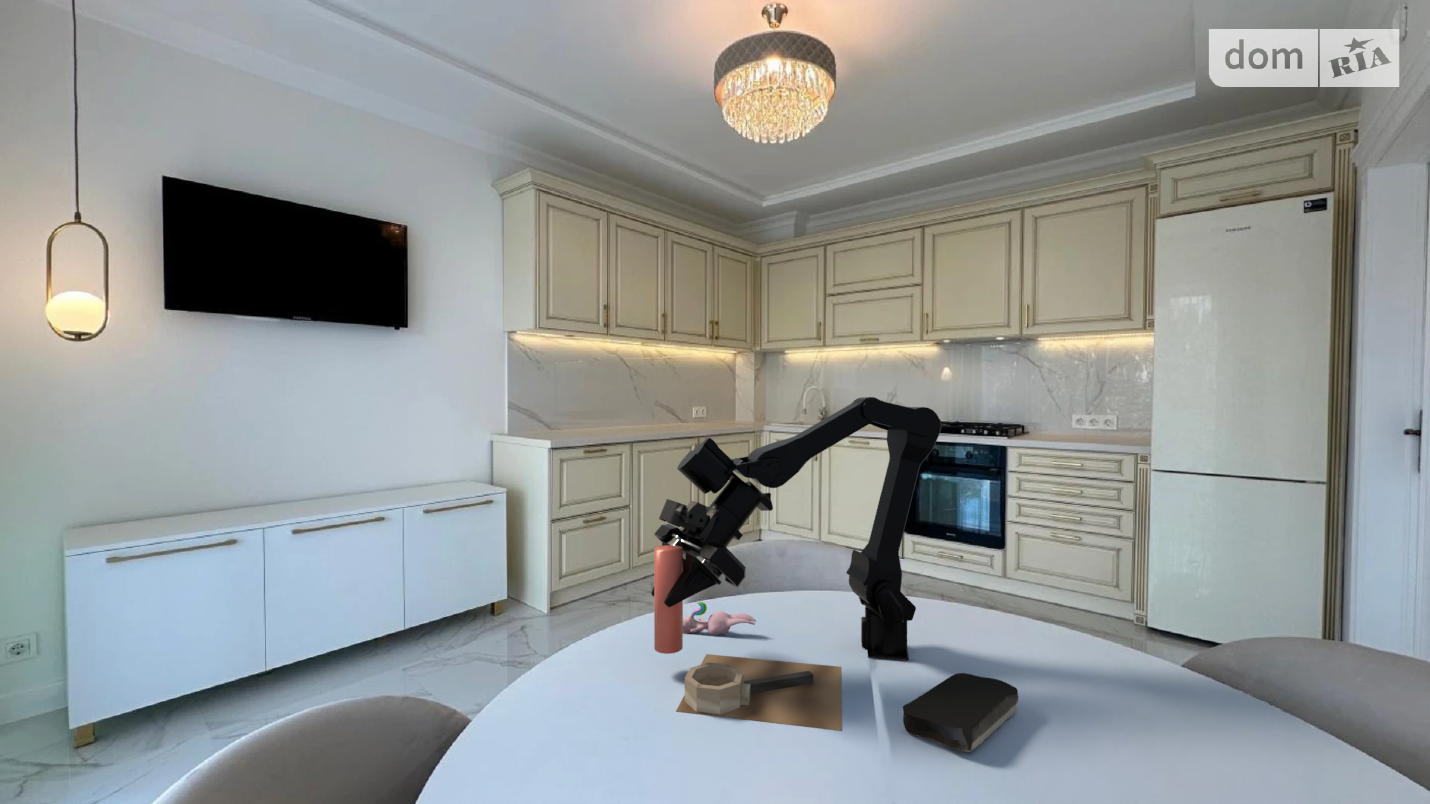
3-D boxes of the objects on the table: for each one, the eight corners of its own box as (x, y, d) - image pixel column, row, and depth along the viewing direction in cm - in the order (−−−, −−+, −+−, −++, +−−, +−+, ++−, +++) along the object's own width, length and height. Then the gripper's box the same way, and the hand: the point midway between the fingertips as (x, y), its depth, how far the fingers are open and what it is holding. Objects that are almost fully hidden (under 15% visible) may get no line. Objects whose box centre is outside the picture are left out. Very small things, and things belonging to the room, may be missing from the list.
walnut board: (841, 675, 84) (841, 645, 84) (841, 740, 67) (841, 704, 67) (706, 662, 88) (706, 634, 88) (675, 721, 71) (675, 686, 71)
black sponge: (966, 767, 63) (966, 733, 63) (895, 734, 69) (896, 703, 69) (1023, 715, 74) (1023, 686, 74) (958, 690, 80) (958, 664, 80)
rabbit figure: (666, 647, 97) (754, 639, 94) (661, 611, 97) (749, 602, 94) (676, 633, 103) (759, 625, 100) (671, 599, 103) (754, 591, 100)
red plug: (685, 643, 83) (685, 546, 84) (678, 654, 80) (678, 552, 80) (659, 640, 84) (659, 544, 84) (650, 652, 80) (650, 551, 81)
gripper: (666, 472, 92) (599, 550, 87) (726, 486, 76) (648, 583, 70) (709, 517, 96) (647, 595, 90) (775, 539, 80) (705, 635, 74)
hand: (659, 600), depth 81 cm, fingers closed on red plug, 4 cm apart
